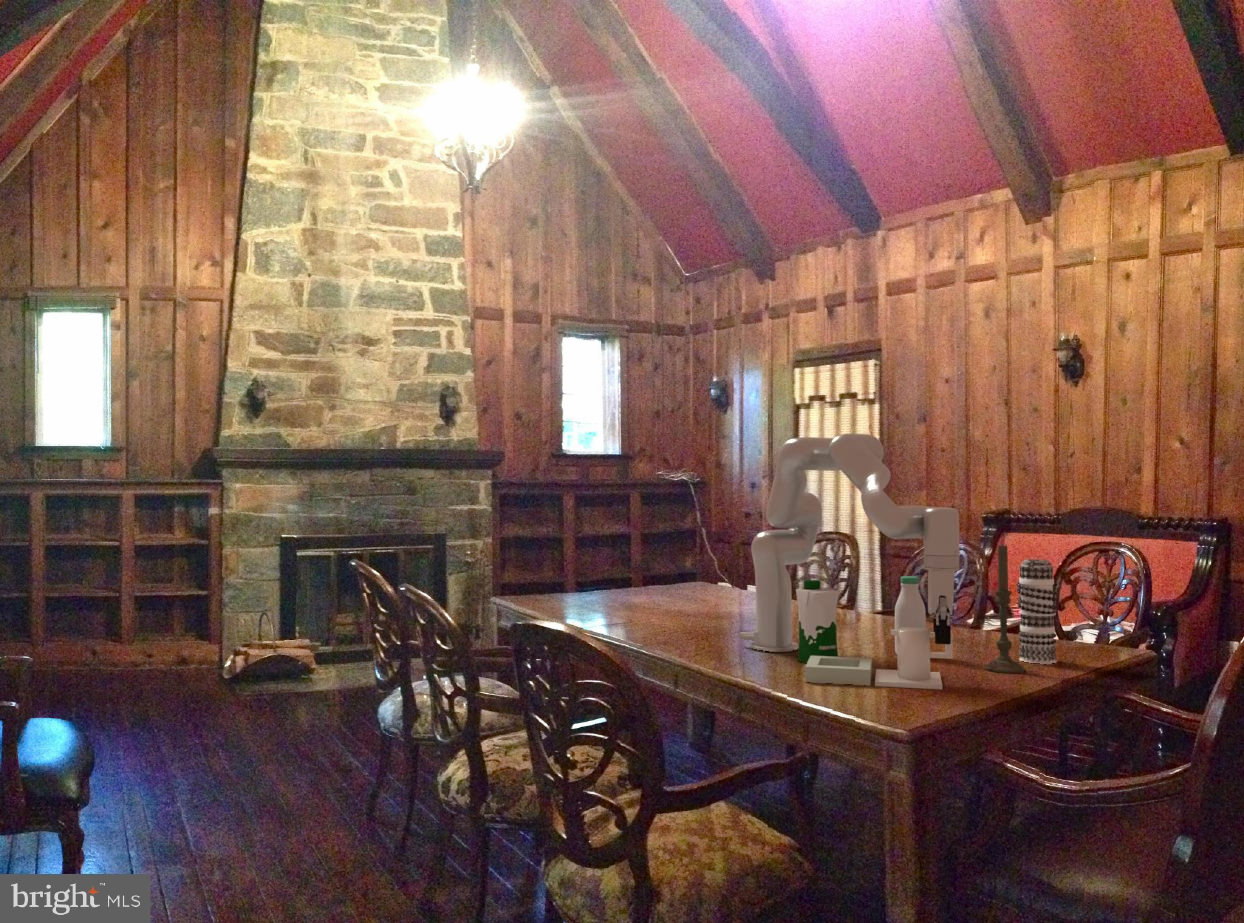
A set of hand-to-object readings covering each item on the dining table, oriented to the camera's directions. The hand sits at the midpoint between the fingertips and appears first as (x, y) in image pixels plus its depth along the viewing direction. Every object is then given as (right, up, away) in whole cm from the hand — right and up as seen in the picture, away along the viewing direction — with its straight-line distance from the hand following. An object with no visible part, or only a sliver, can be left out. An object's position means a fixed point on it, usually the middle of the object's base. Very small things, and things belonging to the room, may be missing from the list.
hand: (941, 640), depth 212 cm
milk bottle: (+3, -10, +34) cm, 36 cm away
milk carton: (-23, -10, +24) cm, 34 cm away
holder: (-21, -10, +6) cm, 24 cm away
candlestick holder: (+19, -10, +14) cm, 26 cm away
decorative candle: (+32, -10, +24) cm, 41 cm away
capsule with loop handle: (-4, -8, +1) cm, 9 cm away
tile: (-7, -10, +2) cm, 12 cm away
